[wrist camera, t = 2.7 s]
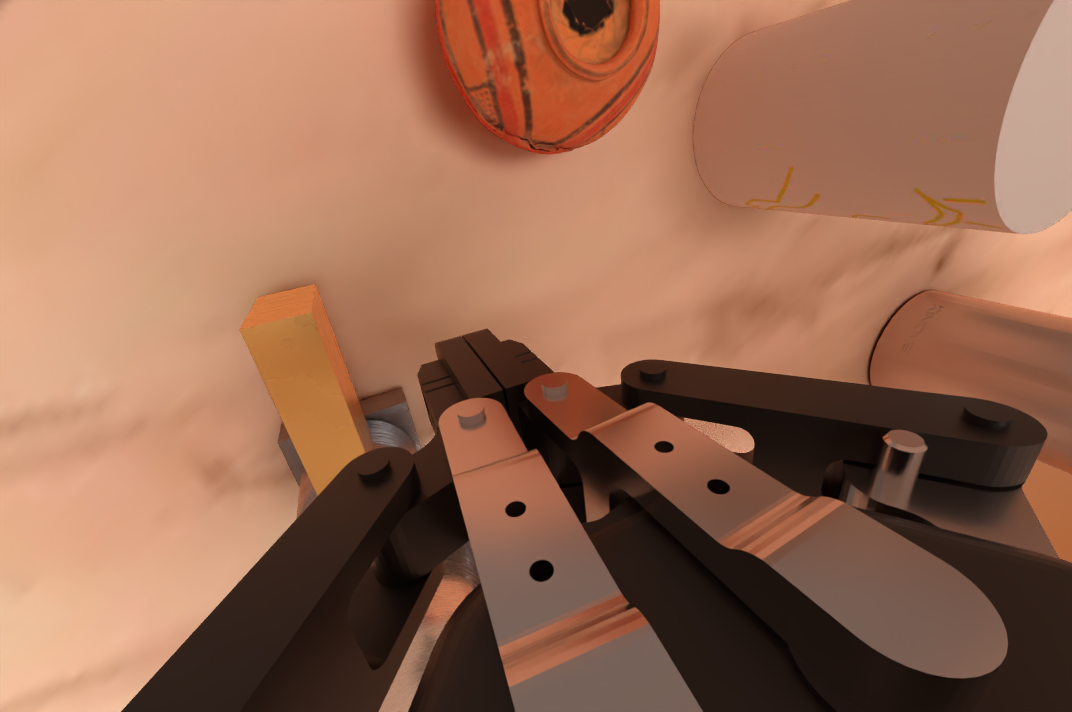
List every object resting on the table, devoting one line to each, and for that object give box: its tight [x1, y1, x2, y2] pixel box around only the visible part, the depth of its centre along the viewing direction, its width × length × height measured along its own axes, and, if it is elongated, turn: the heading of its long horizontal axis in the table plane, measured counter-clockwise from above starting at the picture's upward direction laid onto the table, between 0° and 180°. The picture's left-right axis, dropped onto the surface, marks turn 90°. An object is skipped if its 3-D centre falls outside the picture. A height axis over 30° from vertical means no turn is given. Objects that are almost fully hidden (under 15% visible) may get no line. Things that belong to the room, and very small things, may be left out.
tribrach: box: [278, 388, 481, 712], centre depth 20 cm, size 20×20×12 cm
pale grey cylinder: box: [693, 0, 1072, 234], centre depth 18 cm, size 8×8×12 cm
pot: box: [435, 0, 660, 154], centre depth 15 cm, size 8×8×7 cm
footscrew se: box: [240, 284, 417, 518], centre depth 16 cm, size 11×5×5 cm, turn 8°
